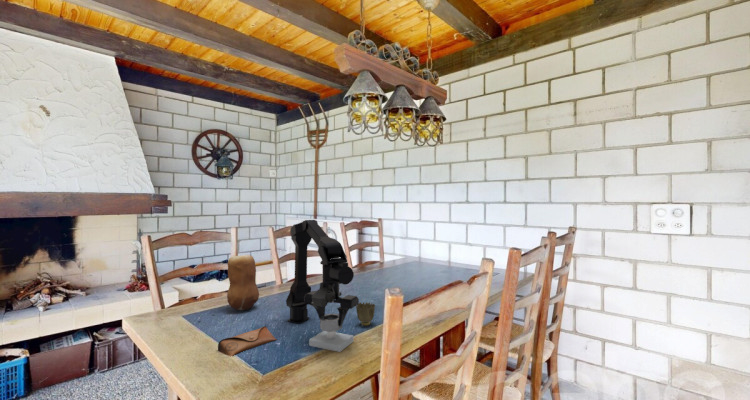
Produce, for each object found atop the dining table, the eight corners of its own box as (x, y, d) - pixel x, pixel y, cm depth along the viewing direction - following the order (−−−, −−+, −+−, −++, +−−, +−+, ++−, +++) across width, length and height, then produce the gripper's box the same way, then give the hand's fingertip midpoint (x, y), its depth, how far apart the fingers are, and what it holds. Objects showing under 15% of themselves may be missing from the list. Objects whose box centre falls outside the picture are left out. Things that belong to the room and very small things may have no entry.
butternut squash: (237, 304, 159) (237, 252, 159) (264, 305, 157) (263, 252, 157) (220, 314, 145) (220, 257, 145) (249, 315, 143) (248, 257, 143)
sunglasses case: (230, 357, 103) (224, 336, 105) (220, 363, 107) (215, 342, 109) (279, 339, 117) (273, 320, 119) (269, 344, 121) (264, 327, 123)
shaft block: (309, 345, 112) (309, 324, 112) (324, 335, 120) (324, 316, 120) (339, 352, 106) (339, 330, 107) (353, 341, 115) (353, 321, 115)
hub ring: (316, 329, 111) (316, 319, 111) (328, 322, 118) (328, 312, 118) (334, 332, 108) (334, 322, 108) (345, 325, 115) (345, 315, 115)
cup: (373, 329, 126) (372, 308, 126) (354, 328, 127) (353, 307, 127) (376, 322, 133) (376, 302, 133) (359, 321, 134) (358, 301, 134)
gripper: (293, 281, 110) (294, 328, 110) (342, 286, 102) (342, 337, 102) (313, 274, 120) (314, 317, 120) (359, 279, 112) (359, 325, 112)
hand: (331, 324), depth 113 cm, fingers closed on hub ring, 7 cm apart
